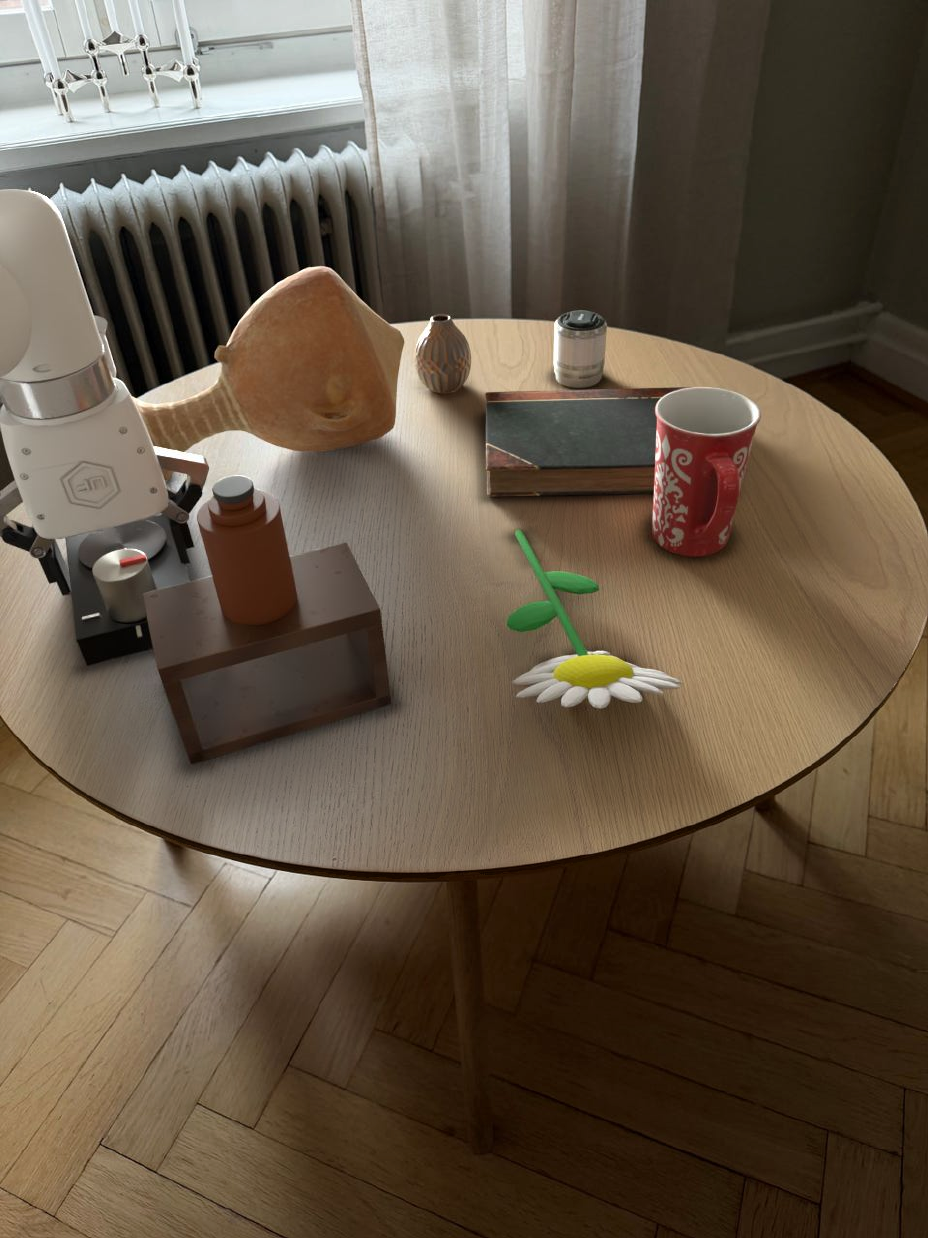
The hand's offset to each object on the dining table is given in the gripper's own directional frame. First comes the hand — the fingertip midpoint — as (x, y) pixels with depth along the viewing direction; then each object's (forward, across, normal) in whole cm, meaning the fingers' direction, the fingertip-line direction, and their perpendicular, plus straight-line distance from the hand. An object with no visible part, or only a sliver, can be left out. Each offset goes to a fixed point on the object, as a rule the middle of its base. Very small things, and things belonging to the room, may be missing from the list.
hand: (126, 569), depth 77 cm
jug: (+7, +18, +26) cm, 33 cm away
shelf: (+7, +9, -13) cm, 17 cm away
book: (+8, +50, +10) cm, 52 cm away
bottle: (-3, +9, -13) cm, 16 cm away
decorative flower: (+7, +33, -15) cm, 37 cm away
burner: (+4, 0, +9) cm, 10 cm away
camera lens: (+8, +56, +27) cm, 63 cm away
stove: (+7, 0, +5) cm, 9 cm away
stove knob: (+4, 0, 0) cm, 4 cm away
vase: (+8, +40, +32) cm, 52 cm away
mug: (+7, +50, -9) cm, 51 cm away
